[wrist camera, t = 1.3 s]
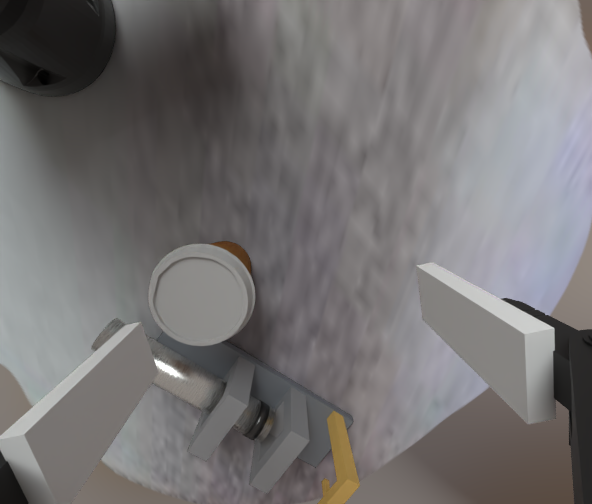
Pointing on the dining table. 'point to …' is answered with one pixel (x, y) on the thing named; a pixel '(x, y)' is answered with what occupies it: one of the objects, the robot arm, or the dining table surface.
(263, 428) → the aluminium tube
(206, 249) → the disposable coffee cup
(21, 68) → the robot arm
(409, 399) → the dining table surface
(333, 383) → the dining table surface
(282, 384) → the collar bench
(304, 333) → the dining table surface
